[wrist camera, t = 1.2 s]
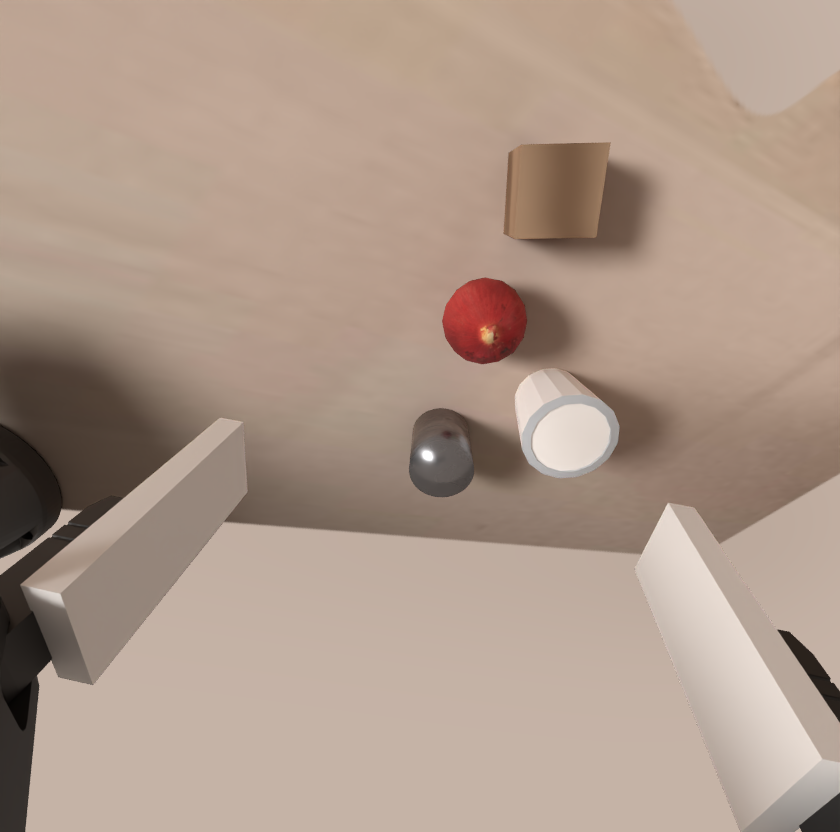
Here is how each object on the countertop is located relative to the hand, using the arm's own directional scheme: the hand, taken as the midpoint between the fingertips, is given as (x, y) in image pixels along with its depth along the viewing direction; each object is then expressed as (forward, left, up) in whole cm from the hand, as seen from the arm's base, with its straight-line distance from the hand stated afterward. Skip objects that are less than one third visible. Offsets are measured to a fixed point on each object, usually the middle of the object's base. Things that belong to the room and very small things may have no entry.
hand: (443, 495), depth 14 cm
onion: (+3, +1, -23) cm, 24 cm away
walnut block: (+7, +9, -23) cm, 26 cm away
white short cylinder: (+9, -7, -23) cm, 26 cm away
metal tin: (0, -10, -23) cm, 25 cm away
